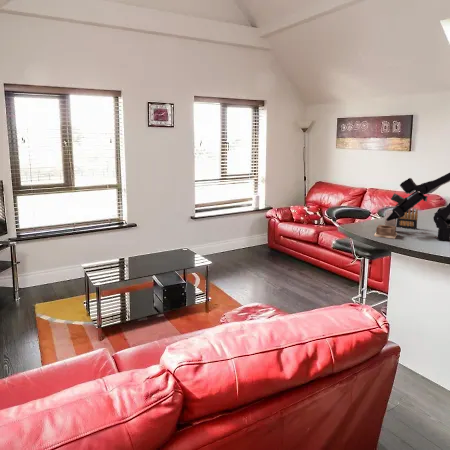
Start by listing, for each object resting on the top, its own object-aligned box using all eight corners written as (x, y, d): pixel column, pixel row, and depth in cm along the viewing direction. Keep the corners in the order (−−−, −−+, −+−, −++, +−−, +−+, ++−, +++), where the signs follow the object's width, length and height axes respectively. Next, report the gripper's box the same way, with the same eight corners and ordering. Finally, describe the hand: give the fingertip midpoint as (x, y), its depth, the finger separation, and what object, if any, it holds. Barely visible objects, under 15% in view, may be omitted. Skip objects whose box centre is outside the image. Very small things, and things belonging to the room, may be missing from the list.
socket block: (397, 234, 225) (398, 226, 224) (394, 238, 217) (395, 230, 216) (377, 232, 230) (378, 224, 229) (374, 236, 221) (374, 227, 220)
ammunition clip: (396, 227, 244) (398, 206, 241) (396, 226, 245) (398, 205, 243) (416, 229, 239) (418, 207, 236) (416, 228, 241) (418, 207, 238)
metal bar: (395, 230, 234) (396, 210, 232) (393, 232, 230) (395, 212, 228) (385, 229, 237) (387, 210, 234) (384, 231, 232) (385, 211, 230)
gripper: (403, 187, 235) (380, 205, 242) (399, 190, 219) (375, 210, 226) (417, 202, 233) (394, 220, 240) (414, 207, 217) (389, 226, 224)
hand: (387, 218), depth 233 cm, fingers open, 9 cm apart
